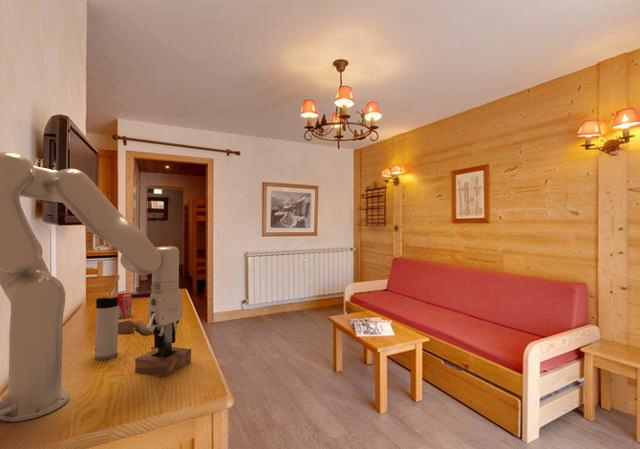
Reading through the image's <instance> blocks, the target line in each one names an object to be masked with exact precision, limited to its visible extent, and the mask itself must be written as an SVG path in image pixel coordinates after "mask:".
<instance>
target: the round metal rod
mask: <svg viewBox="0 0 640 449" xmlns="http://www.w3.org/2000/svg"><path fill="white" fill-rule="evenodd" d="M159 328H160V327H158V330H159ZM163 335H164V336H165V341H164V348H163V349H160V348H158V357H160V358H167V357H169V356H170V355H172V347H173V343H172V323H171V324H168V325H166V326H164V330H163Z"/></svg>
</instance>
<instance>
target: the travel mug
mask: <svg viewBox="0 0 640 449" xmlns="http://www.w3.org/2000/svg"><path fill="white" fill-rule="evenodd" d="M95 304H96V305H95V327H94V328H95V332H94V333H95V334H94V336H95V337H94V344H95V345H94V346H95V347H94V358H95V360H97V361H103V360H104V361H105V360H109V359H112V358H115V357H117V355H118V347H119V346H118V345H119V342H118V340H119V338H118V337H119V336H118V335H119V334H118V322H119V318H118V297H115V296H114V297H98V298H96V301H95Z"/></svg>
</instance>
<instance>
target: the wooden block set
mask: <svg viewBox="0 0 640 449" xmlns="http://www.w3.org/2000/svg"><path fill="white" fill-rule="evenodd" d="M148 323H149V322H148V321H147V324H146V323H145V322H143V321H141V320H137V321H136V322H134V321H132V320H124V321H118V335H126V334H127V335H129V334H135V329H136V330H138V331H139V332H140V333H142V334H143V335H145V336H149V335H151V334H152V333H151V332H150V331H148V330H146V327H147V325H148Z"/></svg>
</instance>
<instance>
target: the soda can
mask: <svg viewBox="0 0 640 449" xmlns="http://www.w3.org/2000/svg"><path fill="white" fill-rule="evenodd" d="M114 297H118V320H119V319H120V320H121V319H127V318H129V317H130V316H131V315H132V307H133V306H132V303H133V302H132V300H133V299H132V298H133V297H132V293H131V291H130V290H119V291H116V293H115V295H114Z"/></svg>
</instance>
